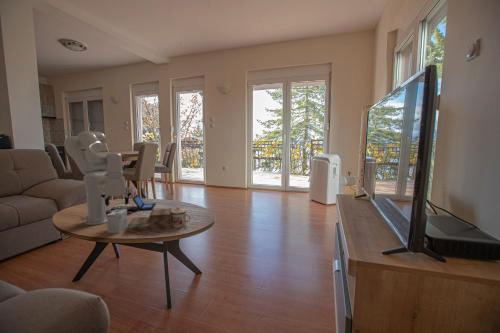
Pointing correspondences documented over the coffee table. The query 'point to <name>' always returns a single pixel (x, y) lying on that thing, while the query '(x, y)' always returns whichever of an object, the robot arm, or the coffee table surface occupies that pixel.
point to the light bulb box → (117, 221)
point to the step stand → (152, 221)
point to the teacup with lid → (178, 217)
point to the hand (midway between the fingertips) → (117, 204)
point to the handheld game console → (142, 204)
